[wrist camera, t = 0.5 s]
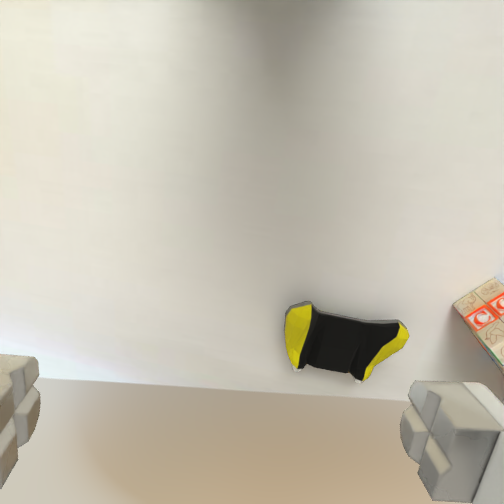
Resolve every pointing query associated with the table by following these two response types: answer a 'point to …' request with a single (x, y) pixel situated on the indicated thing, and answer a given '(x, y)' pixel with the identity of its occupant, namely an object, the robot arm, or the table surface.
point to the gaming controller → (339, 340)
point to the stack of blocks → (486, 318)
